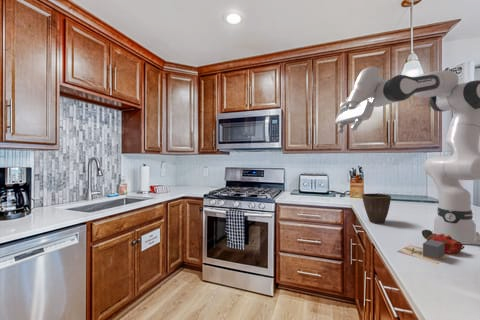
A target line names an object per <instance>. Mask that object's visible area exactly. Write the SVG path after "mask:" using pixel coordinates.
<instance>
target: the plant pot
mask: <svg viewBox="0 0 480 320" xmlns="http://www.w3.org/2000/svg"><path fill="white" fill-rule="evenodd" d="M361 196H362V197H361V198H362V201H363V207H364V209H365V214H366V216H367V219H368V221H369V223H372V224H377V225H378V224H379V225H382V224H385V221H386V219H387V217H388V214H389V211H390V206H391V200H392V195H389V194H385V193H384V194H383V193H364V194H362V195H361Z"/></svg>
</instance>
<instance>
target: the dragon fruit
mask: <svg viewBox="0 0 480 320" xmlns="http://www.w3.org/2000/svg"><path fill="white" fill-rule="evenodd" d="M428 240H434V241H439V242H443V243H444V252H445V254H447V255H449V254H450V255H452V254H458V253H460V252H461V251H462V250H464V249H465V246H464V244H462V243H461V242H458V241H456V240H454V239H452V237H450V235H448V236H445V235H444V234H439V235H437V234H435V233H434V235H430V237H428V238H426V241H428Z"/></svg>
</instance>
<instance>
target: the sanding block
mask: <svg viewBox="0 0 480 320" xmlns="http://www.w3.org/2000/svg"><path fill="white" fill-rule="evenodd" d="M422 248H423V257H425V258H429V259H432V260H436V261H439V260H440V259H441V258H443V257H444V256H445V254H446V253H445V252H444V243H443V242H439V241H434V240H428V241H427V240H426V241H424V242H423V243H422Z"/></svg>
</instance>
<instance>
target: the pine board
mask: <svg viewBox="0 0 480 320" xmlns="http://www.w3.org/2000/svg"><path fill="white" fill-rule="evenodd" d="M396 252H397V253H401V254H404V255H408V256H410V257H414V258H417V259H420V260H424V261H428V262H431V263H435V264H440V263H441V262H443V261H444V260H445V259H446V258H448V257H449V256H450V255H449V254H448V253H445V256H444V257H443V258H441V259H440V260H439V261H436V260H432V259H429V258H425V257H423V247H420V246H419V247H418V246H415V245H412V244H409V245H406V246H405V247H404V248H402V249H399V250H396Z"/></svg>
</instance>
